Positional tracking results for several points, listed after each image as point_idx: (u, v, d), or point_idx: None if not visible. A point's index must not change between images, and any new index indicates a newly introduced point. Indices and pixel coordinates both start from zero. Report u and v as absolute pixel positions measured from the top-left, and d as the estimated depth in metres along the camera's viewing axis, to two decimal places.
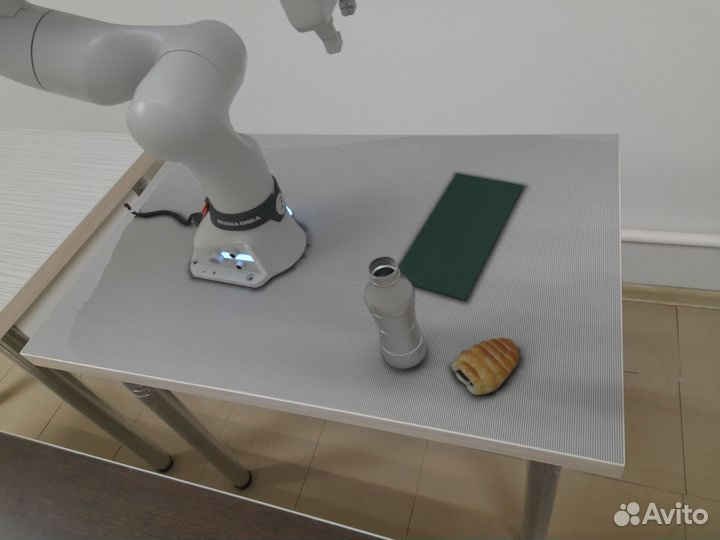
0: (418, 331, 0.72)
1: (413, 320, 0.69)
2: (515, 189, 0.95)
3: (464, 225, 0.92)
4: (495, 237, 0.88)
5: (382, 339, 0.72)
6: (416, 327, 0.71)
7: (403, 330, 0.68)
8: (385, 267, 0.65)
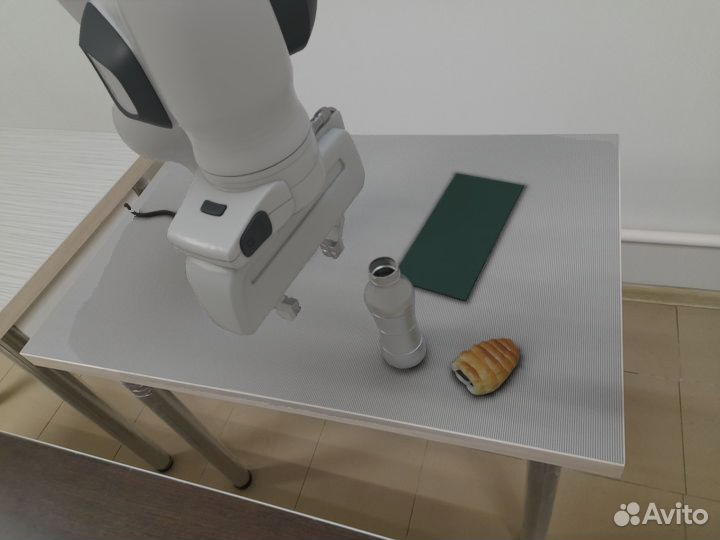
0: (418, 331, 0.72)
1: (413, 320, 0.69)
2: (515, 189, 0.95)
3: (464, 225, 0.92)
4: (495, 237, 0.88)
5: (382, 339, 0.72)
6: (416, 327, 0.71)
7: (403, 330, 0.68)
8: (385, 267, 0.65)
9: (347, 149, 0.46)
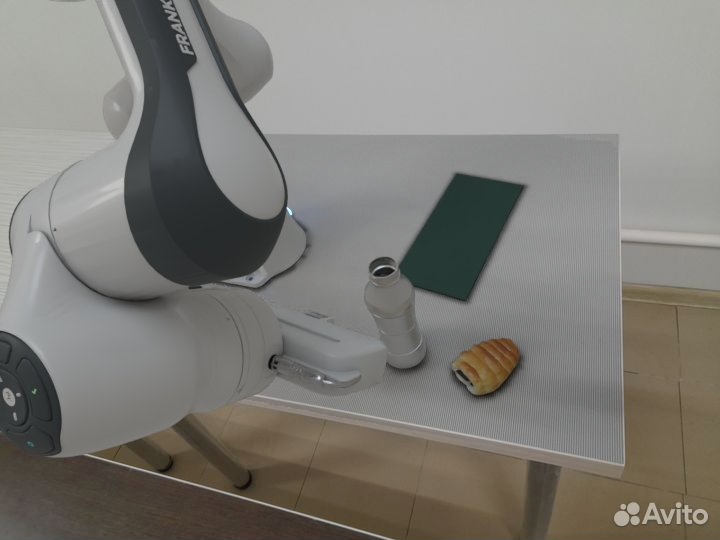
0: (418, 331, 0.72)
1: (413, 320, 0.69)
2: (515, 189, 0.95)
3: (464, 225, 0.92)
4: (495, 237, 0.88)
5: (382, 339, 0.72)
6: (416, 327, 0.71)
7: (403, 330, 0.68)
8: (385, 267, 0.65)
9: None
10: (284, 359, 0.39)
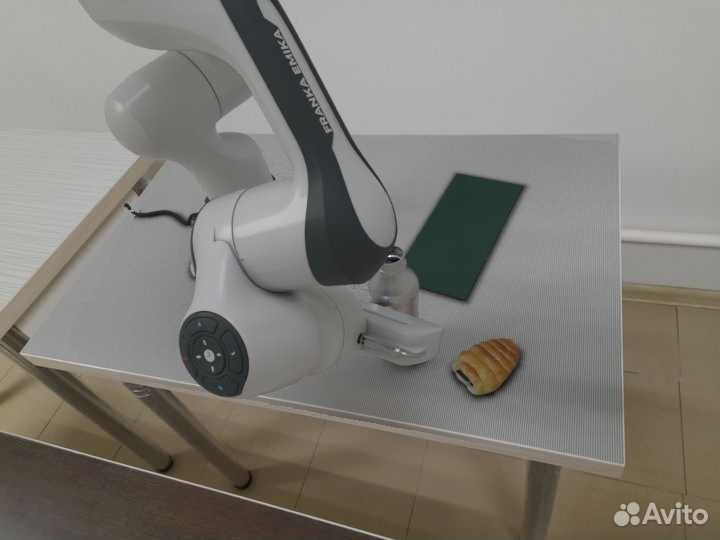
0: None
1: (416, 313, 0.69)
2: (515, 189, 0.95)
3: (464, 225, 0.92)
4: (495, 237, 0.88)
5: None
6: None
7: None
8: (391, 257, 0.66)
9: None
10: (370, 336, 0.52)
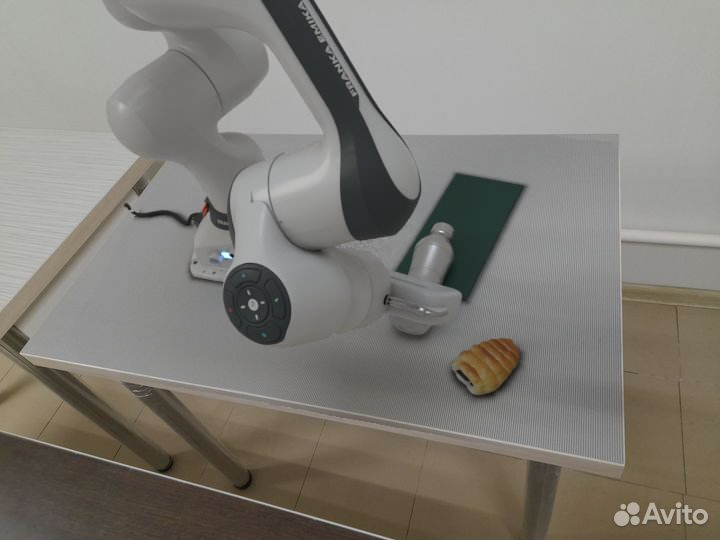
0: None
1: (443, 275, 0.81)
2: (515, 189, 0.95)
3: (464, 225, 0.92)
4: (495, 237, 0.88)
5: None
6: None
7: (435, 269, 0.80)
8: None
9: None
10: (395, 297, 0.55)
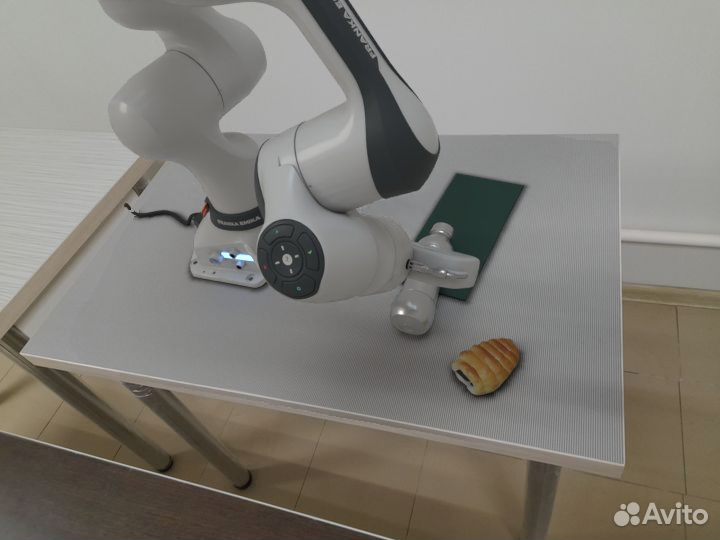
0: (437, 296, 0.79)
1: None
2: (515, 189, 0.95)
3: (464, 225, 0.92)
4: (495, 237, 0.88)
5: (407, 281, 0.79)
6: (438, 289, 0.80)
7: None
8: None
9: None
10: (417, 261, 0.57)
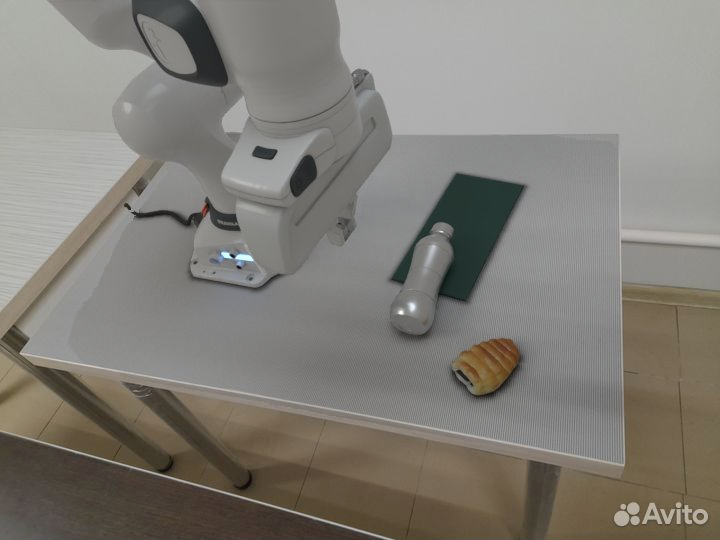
0: (437, 296, 0.79)
1: (442, 275, 0.81)
2: (515, 189, 0.95)
3: (464, 225, 0.92)
4: (495, 237, 0.88)
5: (407, 281, 0.79)
6: (438, 289, 0.80)
7: (434, 269, 0.80)
8: None
9: (378, 109, 0.50)
10: None
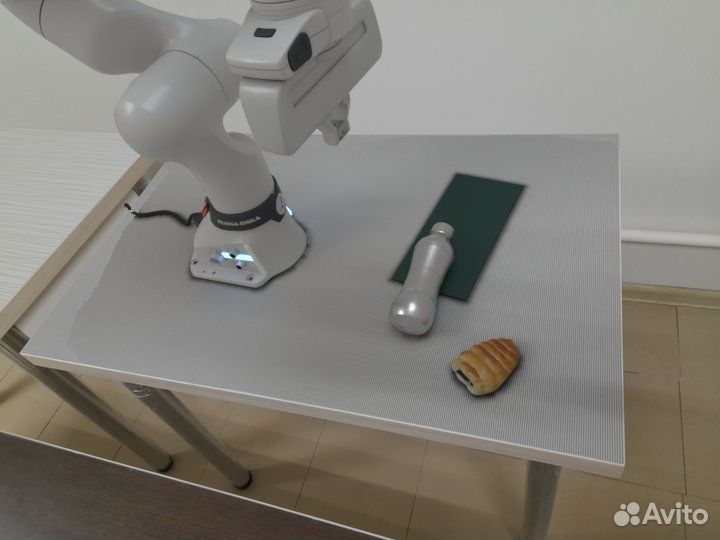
0: (437, 296, 0.79)
1: (442, 275, 0.81)
2: (515, 189, 0.95)
3: (464, 225, 0.92)
4: (495, 237, 0.88)
5: (407, 281, 0.79)
6: (438, 289, 0.80)
7: (434, 269, 0.80)
8: None
9: (369, 14, 0.55)
10: None
